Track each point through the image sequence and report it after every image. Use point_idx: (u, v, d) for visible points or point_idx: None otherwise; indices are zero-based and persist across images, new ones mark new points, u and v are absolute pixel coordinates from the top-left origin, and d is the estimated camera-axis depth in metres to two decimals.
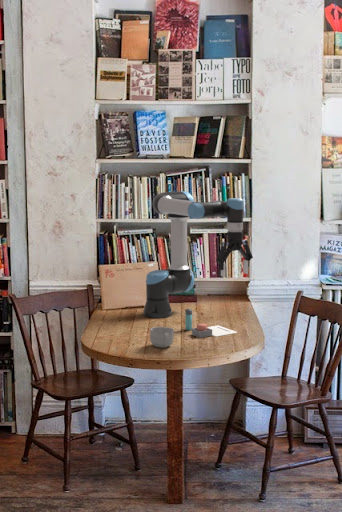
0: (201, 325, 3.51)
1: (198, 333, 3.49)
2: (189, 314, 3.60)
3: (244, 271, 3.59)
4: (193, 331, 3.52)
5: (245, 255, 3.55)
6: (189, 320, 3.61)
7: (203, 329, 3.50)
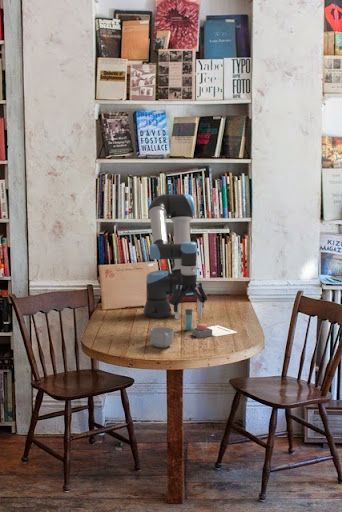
0: (201, 325, 3.51)
1: (198, 333, 3.49)
2: (189, 314, 3.60)
3: (198, 313, 3.66)
4: (193, 331, 3.52)
5: (199, 297, 3.62)
6: (189, 320, 3.61)
7: (203, 329, 3.50)
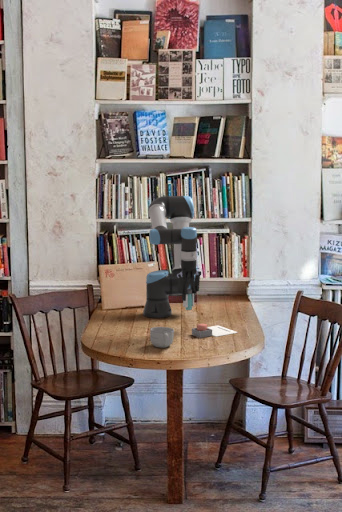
0: (201, 325, 3.51)
1: (198, 333, 3.49)
2: (189, 294, 3.59)
3: None
4: (193, 331, 3.52)
5: (193, 286, 3.60)
6: (189, 299, 3.60)
7: (203, 329, 3.50)
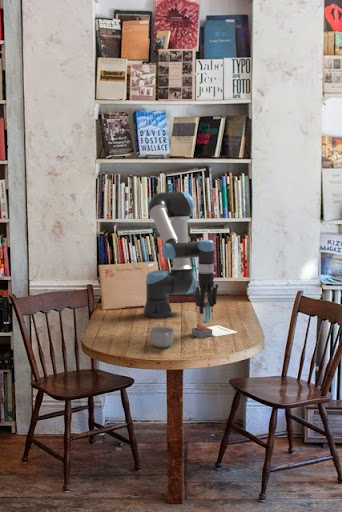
0: (201, 325, 3.51)
1: (198, 333, 3.49)
2: (206, 306, 3.58)
3: None
4: (193, 331, 3.52)
5: (210, 299, 3.59)
6: (207, 312, 3.58)
7: (203, 329, 3.50)
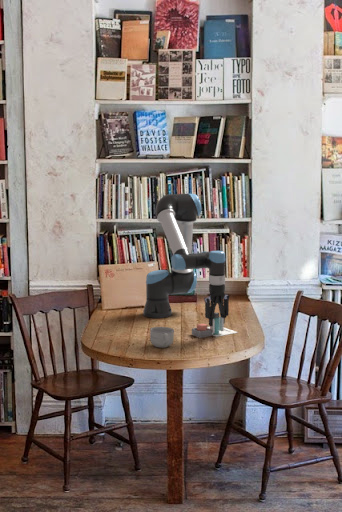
0: (201, 325, 3.51)
1: (198, 333, 3.49)
2: (216, 317, 3.52)
3: (219, 328, 3.55)
4: (193, 331, 3.52)
5: (222, 311, 3.52)
6: (217, 323, 3.52)
7: (203, 329, 3.50)
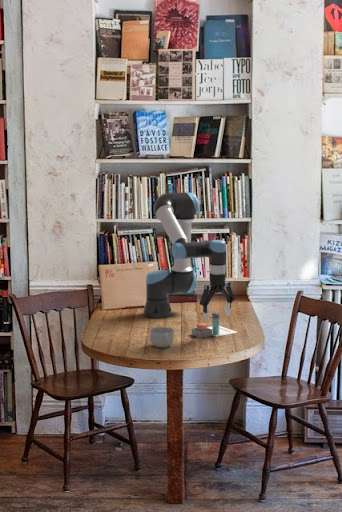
0: (201, 325, 3.51)
1: (198, 333, 3.49)
2: (216, 318, 3.52)
3: (226, 313, 3.57)
4: (193, 331, 3.52)
5: (227, 297, 3.53)
6: (217, 324, 3.52)
7: (203, 329, 3.50)
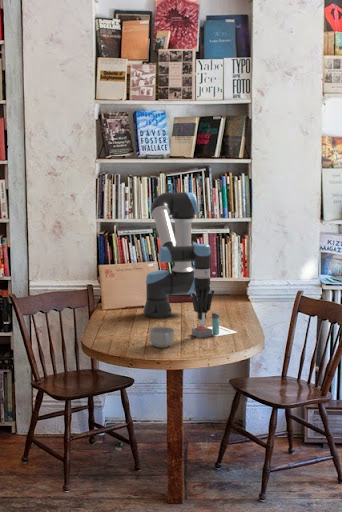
0: (201, 326, 3.51)
1: (198, 333, 3.49)
2: (216, 318, 3.52)
3: None
4: (193, 331, 3.52)
5: (205, 305, 3.50)
6: (217, 324, 3.52)
7: (203, 330, 3.50)
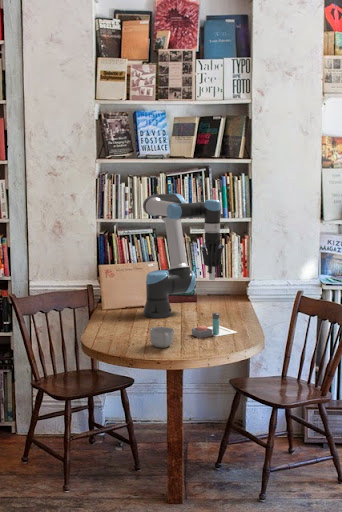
0: (201, 327, 3.52)
1: (198, 333, 3.49)
2: (216, 318, 3.51)
3: None
4: (193, 331, 3.52)
5: (215, 259, 3.60)
6: (217, 324, 3.52)
7: None
